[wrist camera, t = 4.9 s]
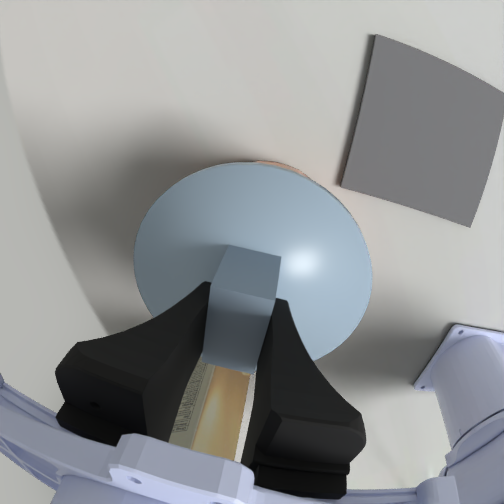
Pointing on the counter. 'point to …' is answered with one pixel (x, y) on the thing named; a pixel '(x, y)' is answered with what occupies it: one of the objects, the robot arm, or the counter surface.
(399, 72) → the mat
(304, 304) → the lid
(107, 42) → the counter surface
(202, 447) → the skincare box
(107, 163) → the counter surface
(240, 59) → the counter surface
